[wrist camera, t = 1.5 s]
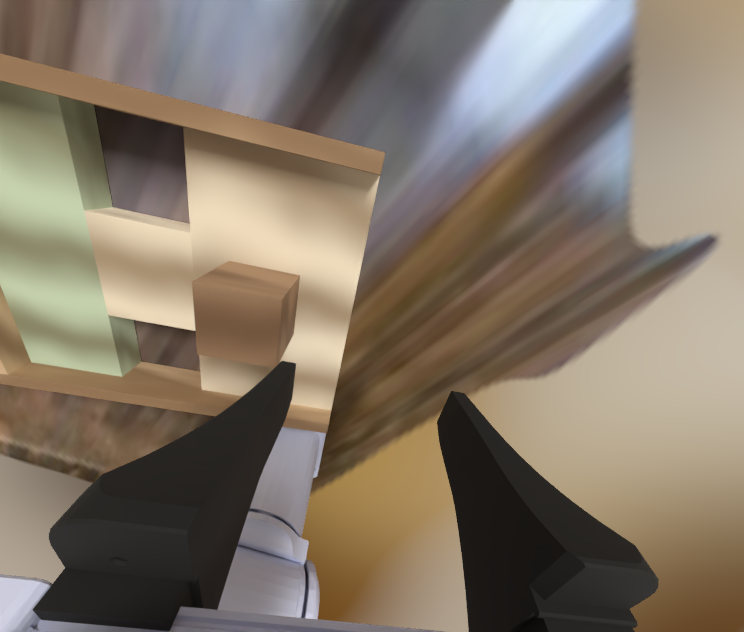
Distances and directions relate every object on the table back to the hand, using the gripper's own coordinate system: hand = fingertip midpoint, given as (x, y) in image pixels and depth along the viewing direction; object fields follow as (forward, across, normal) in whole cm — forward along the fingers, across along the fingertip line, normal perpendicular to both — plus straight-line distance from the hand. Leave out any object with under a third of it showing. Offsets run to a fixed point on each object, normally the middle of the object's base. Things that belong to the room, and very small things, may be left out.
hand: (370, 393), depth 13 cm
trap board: (+9, +14, 0) cm, 16 cm away
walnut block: (+7, +8, 0) cm, 11 cm away
